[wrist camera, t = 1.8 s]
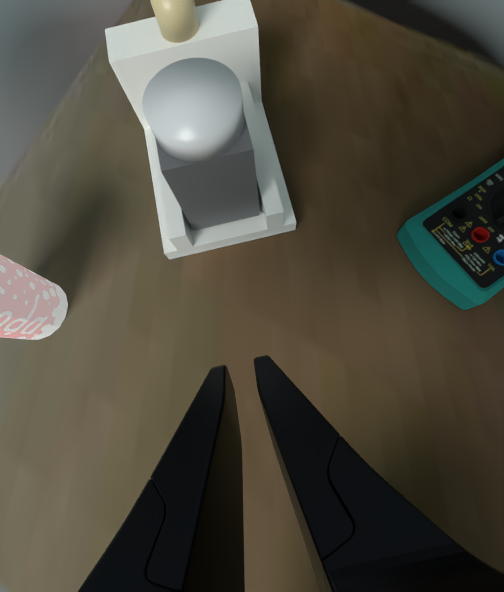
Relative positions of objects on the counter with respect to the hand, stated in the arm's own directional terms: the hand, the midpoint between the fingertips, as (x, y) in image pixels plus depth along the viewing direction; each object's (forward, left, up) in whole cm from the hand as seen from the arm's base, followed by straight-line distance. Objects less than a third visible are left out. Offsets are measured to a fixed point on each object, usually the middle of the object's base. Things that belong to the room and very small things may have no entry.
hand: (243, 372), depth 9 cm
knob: (+10, +10, -12) cm, 18 cm away
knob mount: (+12, +12, -14) cm, 22 cm away
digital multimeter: (+19, -9, -14) cm, 25 cm away
